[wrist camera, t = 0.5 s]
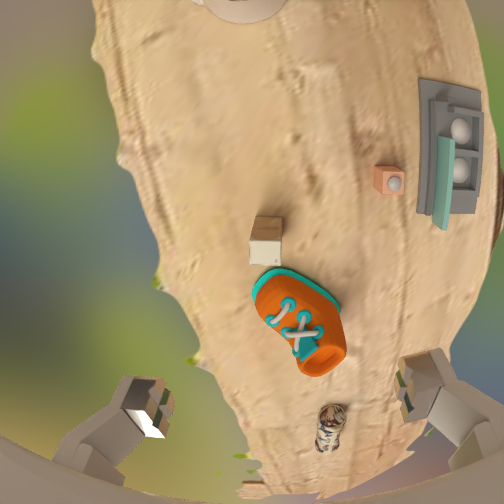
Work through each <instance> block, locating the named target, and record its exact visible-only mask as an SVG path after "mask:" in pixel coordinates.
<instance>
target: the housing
mask: <svg viewBox="0 0 504 504" xmlns="http://www.w3.org/2000/svg"><path fill="white" fill-rule="evenodd" d="M418 88H419V106H420V166H419V185H418V198H417V209H416V212H417V213H418V214H425V215H426V216H431V214H433V209H434V200H435V190H436V176H437V158H438V136H444V137H448V138H452V139H455V158H454V174H453V186H452V196H451V205H450V213H449V214H475V209H476V201H477V197H479V193H480V184H481V173H482V160H483V137H484V113H483V112H482V109H481V91H477V90H473V89H469V88H465V87H461V86H456V85H452V84H447V83H442V82H437V81H431V80H426V79H418Z"/></svg>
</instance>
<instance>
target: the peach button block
mask: <svg viewBox="0 0 504 504" xmlns="http://www.w3.org/2000/svg"><path fill="white" fill-rule="evenodd" d="M374 188H375V189H376V190H378V191H379V192H380V193H381V194H382V195H403V190H404V171H402V170H400V169H398V168H396V167H394V166H374Z"/></svg>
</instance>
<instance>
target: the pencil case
mask: <svg viewBox="0 0 504 504" xmlns="http://www.w3.org/2000/svg"><path fill="white" fill-rule="evenodd" d="M345 422H346V415H345V413H344V410H343V409H342V408H341V407H340V406H338V405H331V404H330V405H328V406H326V407H325V408H323V409H322V410H321V411H320V413H319V415H318V431H317V436H316V440H315V448H316V450H317V451H318V452H320V453H322V454H326V456H327V455H330V454H332V452H334V451H335V450H337V449H338V447H339V436H340V431H341V429H342V427H343V426H344V424H345Z"/></svg>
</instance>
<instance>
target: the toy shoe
mask: <svg viewBox="0 0 504 504" xmlns="http://www.w3.org/2000/svg"><path fill="white" fill-rule="evenodd" d="M252 297H253V300H254V302H255V306H256V309H257V312H258V314H259V316H260V317H261V318H262V319H263V320H264V321H265V322H266V323H267V325H269V326H271V327H272V328H273V329H274V330H275V331H277V332H278V333H279V334H280V335H281V336H283V337H284V338H285V339H286V340H287V341H288V342H289V343H290V345H291V347H292V353H293V355H294V356H295V357H296V360H297V365H298V368H299V369H300V371H301V372H302V373H304V374H306V375H308V376H311V377H318V376H322V375H324V374H326V373H327V372H329V371H330V370H332V369H333V368H334V367H335V366H337V365H338V364H339V363H340V362H341V361H342V360H343V359H344V358H345V356H346V351H347V347H346V340H345V336H344V331H343V327H342V323H341V319H340V312H341V310H340V306H339V305H338V303H337V302H336V301H335V300H334V298H333V297H332V296H331V295H330V294H328V293H327V292H326V291H325V290H323V289H322V288H321V287H319V286H318V285H316V284H315V283H313V282H312V281H310V280H308V279H307V278H305V277H303V276H301V275H299V274H298V273H295V272H293V271H291V270H288V269H282V268H277V269H272V270H270V271H268V272H267V273H266V274H264V275H263V276H262V277H261V278H260V279H259V281H258V282H257V283H256V284H255V286H254V288H253V291H252Z"/></svg>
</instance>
